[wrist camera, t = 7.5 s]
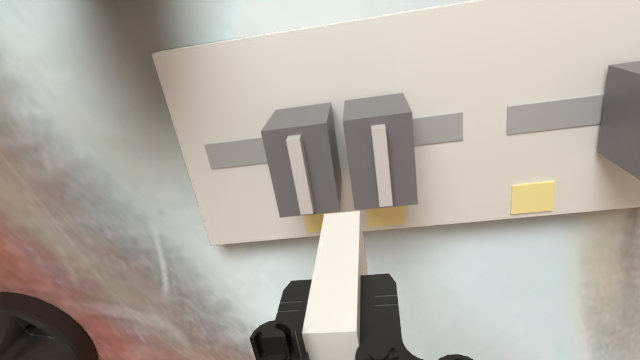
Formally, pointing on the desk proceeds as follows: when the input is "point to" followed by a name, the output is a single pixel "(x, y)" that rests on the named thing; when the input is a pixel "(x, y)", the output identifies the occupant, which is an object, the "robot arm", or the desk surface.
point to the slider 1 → (303, 160)
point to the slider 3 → (622, 117)
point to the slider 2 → (380, 151)
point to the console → (415, 111)
